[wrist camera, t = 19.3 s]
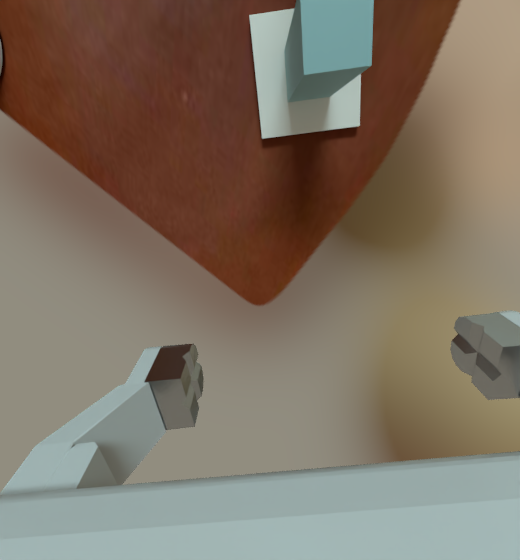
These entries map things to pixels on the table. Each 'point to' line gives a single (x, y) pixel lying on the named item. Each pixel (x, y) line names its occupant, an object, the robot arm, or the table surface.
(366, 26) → the teal block
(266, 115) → the pad
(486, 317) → the robot arm
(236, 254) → the table surface
